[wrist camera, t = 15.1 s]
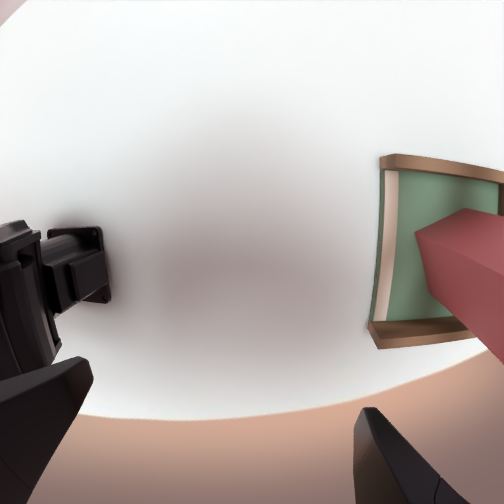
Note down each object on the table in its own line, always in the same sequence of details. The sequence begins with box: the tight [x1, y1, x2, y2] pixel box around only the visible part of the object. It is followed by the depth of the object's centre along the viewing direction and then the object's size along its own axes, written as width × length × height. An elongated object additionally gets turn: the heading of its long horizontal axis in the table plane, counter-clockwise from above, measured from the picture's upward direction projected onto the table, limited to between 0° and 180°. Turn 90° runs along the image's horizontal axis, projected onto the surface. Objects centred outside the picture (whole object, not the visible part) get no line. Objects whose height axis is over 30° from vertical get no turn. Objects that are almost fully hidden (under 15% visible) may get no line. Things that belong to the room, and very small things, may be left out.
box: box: [368, 154, 504, 349], centre depth 17 cm, size 12×13×3 cm
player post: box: [414, 208, 504, 364], centre depth 11 cm, size 5×5×13 cm
